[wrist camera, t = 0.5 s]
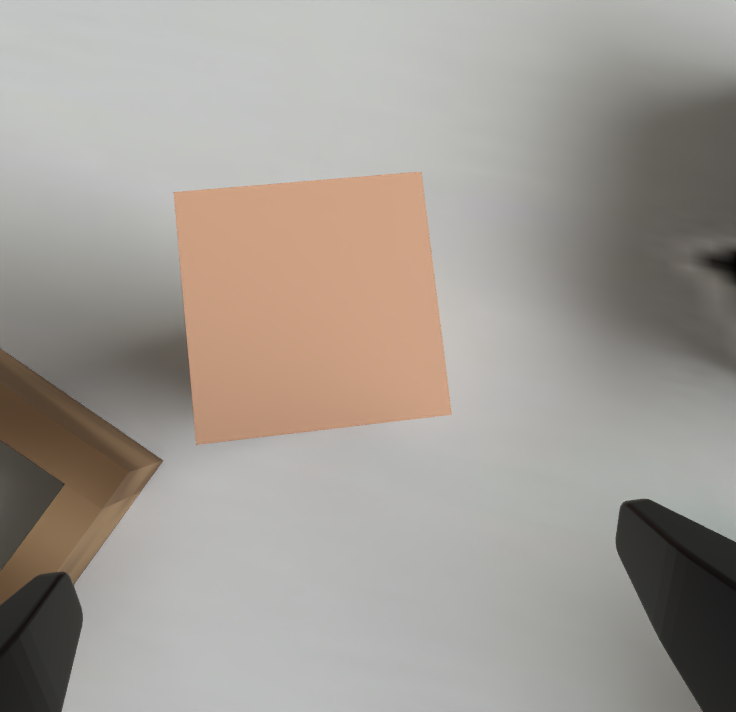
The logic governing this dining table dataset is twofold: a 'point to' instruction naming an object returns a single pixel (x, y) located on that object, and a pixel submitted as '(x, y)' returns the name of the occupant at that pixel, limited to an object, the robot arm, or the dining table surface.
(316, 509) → the dining table surface
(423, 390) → the terracotta peg
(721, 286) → the dining table surface
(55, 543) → the walnut well holder
